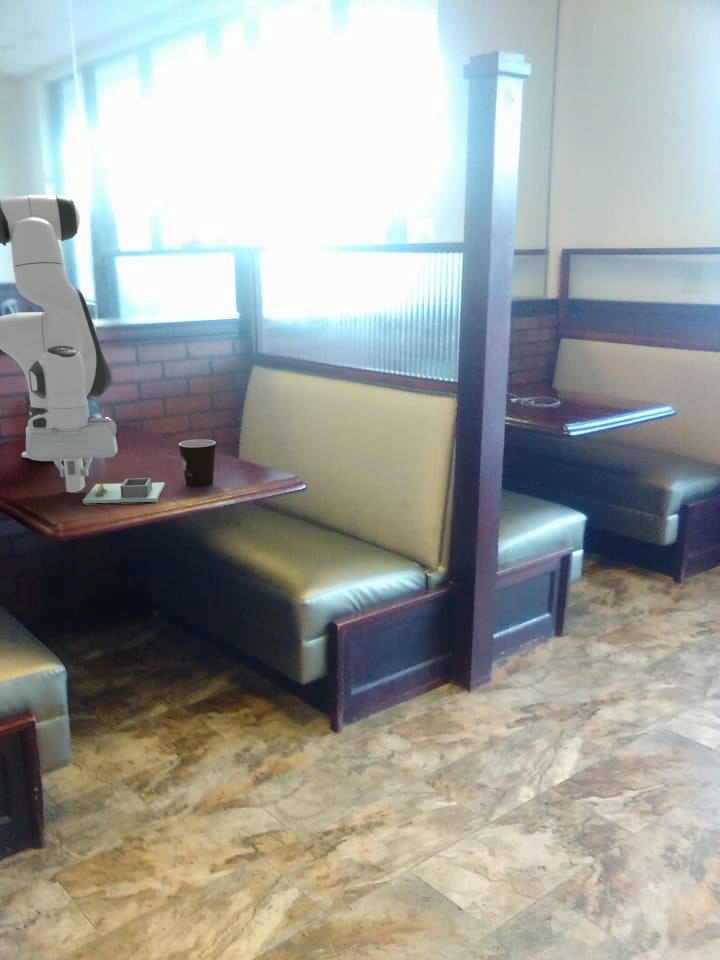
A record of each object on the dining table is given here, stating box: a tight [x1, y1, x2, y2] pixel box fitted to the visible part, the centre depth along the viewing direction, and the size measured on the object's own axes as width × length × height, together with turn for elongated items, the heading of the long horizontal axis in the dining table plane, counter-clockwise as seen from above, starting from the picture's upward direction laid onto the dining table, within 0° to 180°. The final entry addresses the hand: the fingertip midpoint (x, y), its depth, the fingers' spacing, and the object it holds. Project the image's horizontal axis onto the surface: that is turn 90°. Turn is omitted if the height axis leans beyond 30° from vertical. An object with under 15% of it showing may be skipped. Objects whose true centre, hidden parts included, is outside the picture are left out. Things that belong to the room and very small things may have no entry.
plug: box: [63, 458, 86, 493], centre depth 204 cm, size 5×3×8 cm, turn 5°
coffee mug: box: [178, 439, 217, 488], centre depth 210 cm, size 12×9×10 cm
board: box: [82, 477, 166, 504], centre depth 200 cm, size 14×16×4 cm
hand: (74, 476), depth 204 cm, fingers closed on plug, 3 cm apart
